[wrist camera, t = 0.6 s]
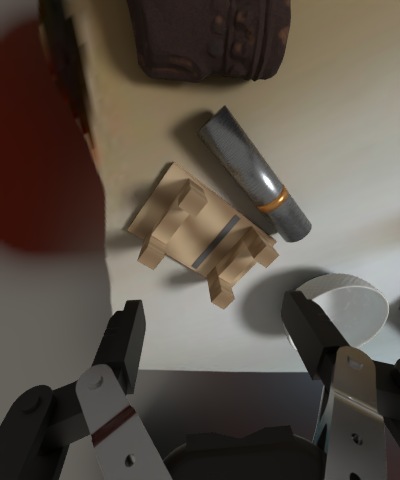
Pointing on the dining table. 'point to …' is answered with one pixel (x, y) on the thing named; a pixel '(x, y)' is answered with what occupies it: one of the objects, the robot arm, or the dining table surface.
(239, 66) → the dark brown boot
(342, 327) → the cereal bowl
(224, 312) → the dining table surface
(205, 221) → the cradle board
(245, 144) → the tube
